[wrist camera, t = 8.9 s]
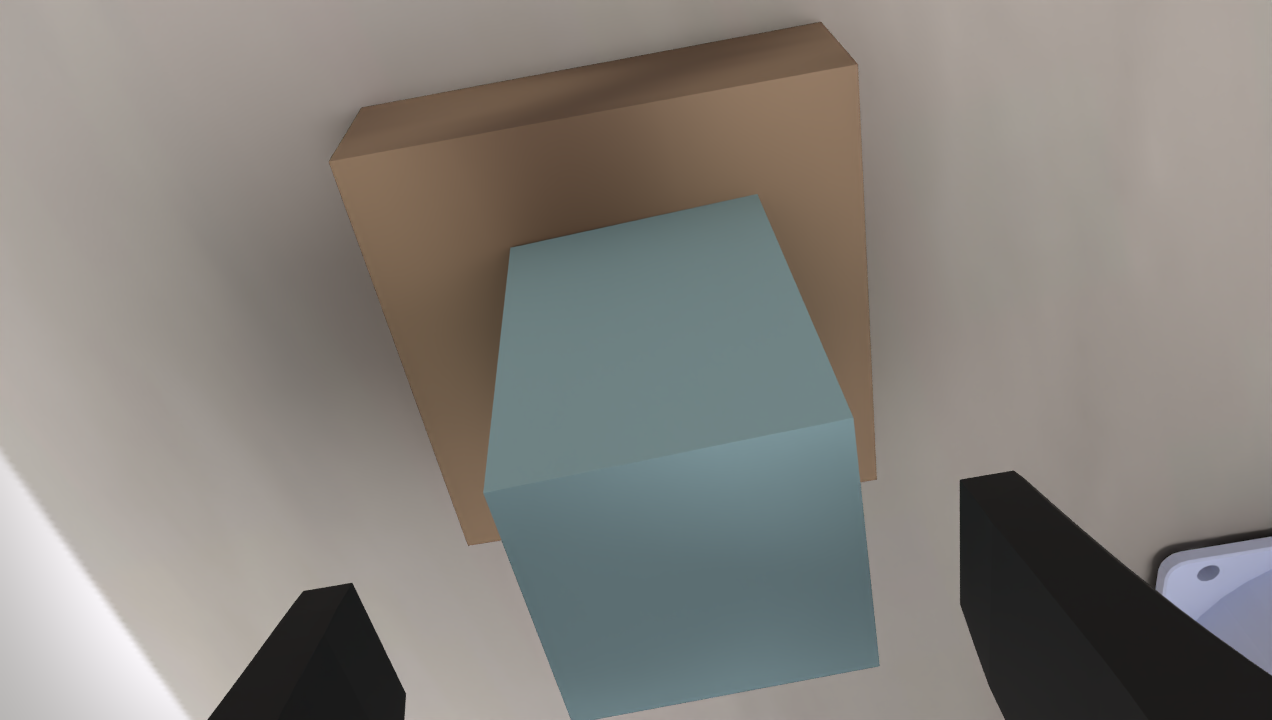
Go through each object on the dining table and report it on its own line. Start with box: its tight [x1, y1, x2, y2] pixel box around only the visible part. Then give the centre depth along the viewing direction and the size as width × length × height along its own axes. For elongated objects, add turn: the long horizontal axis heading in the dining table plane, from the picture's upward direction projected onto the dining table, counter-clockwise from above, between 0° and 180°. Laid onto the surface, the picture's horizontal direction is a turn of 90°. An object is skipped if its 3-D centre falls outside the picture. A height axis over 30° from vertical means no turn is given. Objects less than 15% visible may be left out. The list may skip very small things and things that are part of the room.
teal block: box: [483, 194, 880, 720], centre depth 14 cm, size 4×4×6 cm
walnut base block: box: [329, 22, 877, 546], centre depth 18 cm, size 8×8×3 cm
